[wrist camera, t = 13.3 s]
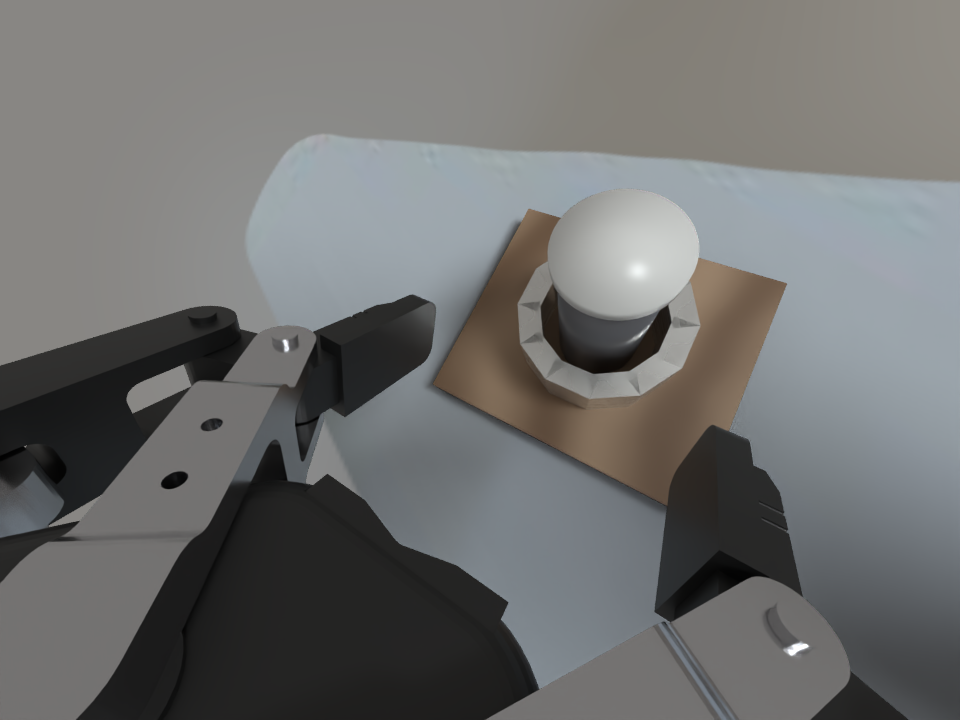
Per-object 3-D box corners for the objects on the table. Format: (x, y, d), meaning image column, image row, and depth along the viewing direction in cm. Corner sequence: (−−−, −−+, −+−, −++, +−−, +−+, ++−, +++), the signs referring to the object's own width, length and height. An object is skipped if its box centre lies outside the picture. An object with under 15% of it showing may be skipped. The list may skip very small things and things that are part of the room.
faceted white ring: (699, 301, 21) (724, 270, 17) (640, 435, 19) (656, 429, 16) (561, 256, 23) (560, 222, 20) (501, 370, 22) (491, 354, 19)
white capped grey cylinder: (655, 318, 21) (721, 209, 12) (621, 393, 20) (665, 336, 11) (575, 289, 23) (581, 175, 14) (540, 358, 22) (524, 284, 13)
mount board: (772, 295, 21) (787, 283, 20) (684, 515, 19) (693, 519, 18) (530, 222, 26) (528, 208, 25) (440, 388, 24) (432, 384, 23)
